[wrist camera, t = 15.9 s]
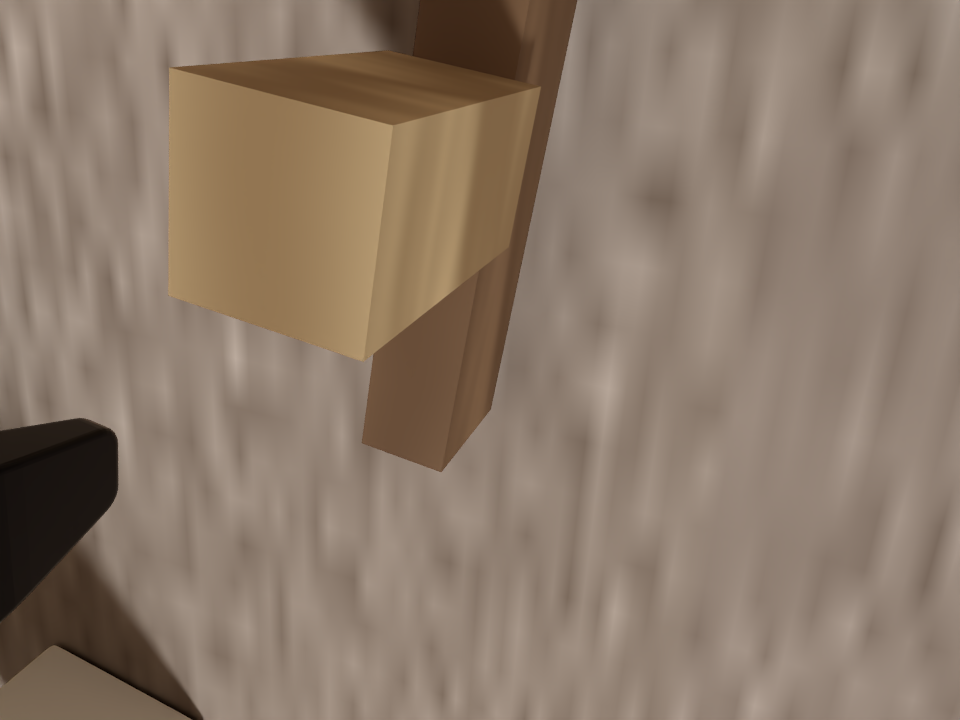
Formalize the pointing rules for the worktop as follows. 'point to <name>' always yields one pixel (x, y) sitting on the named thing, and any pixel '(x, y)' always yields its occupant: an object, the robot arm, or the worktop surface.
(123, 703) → the milk carton
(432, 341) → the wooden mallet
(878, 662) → the worktop surface
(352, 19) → the worktop surface
